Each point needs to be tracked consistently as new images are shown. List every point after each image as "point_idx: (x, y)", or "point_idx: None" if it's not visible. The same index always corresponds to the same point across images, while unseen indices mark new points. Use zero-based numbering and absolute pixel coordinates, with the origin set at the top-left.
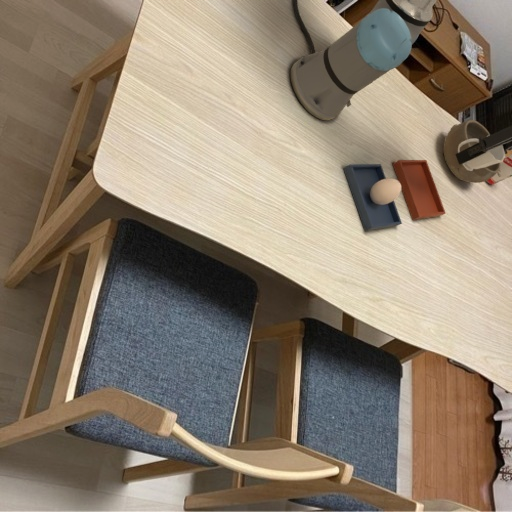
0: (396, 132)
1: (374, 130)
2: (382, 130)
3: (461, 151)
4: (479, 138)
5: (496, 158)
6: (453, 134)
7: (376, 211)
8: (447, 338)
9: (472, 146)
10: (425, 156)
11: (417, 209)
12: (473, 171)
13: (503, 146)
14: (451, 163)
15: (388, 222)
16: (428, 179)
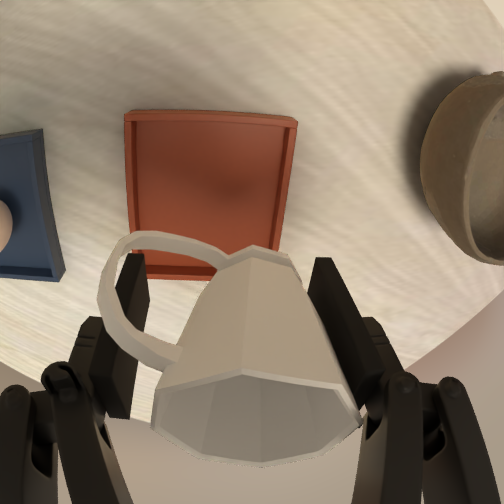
0: (229, 7)
1: (106, 9)
2: (149, 3)
3: (121, 276)
4: (44, 372)
5: (301, 414)
6: (465, 91)
7: (10, 239)
8: (146, 412)
9: (102, 329)
10: (345, 102)
11: None
12: (447, 228)
13: (378, 417)
14: (421, 161)
15: (39, 264)
16: (279, 178)
